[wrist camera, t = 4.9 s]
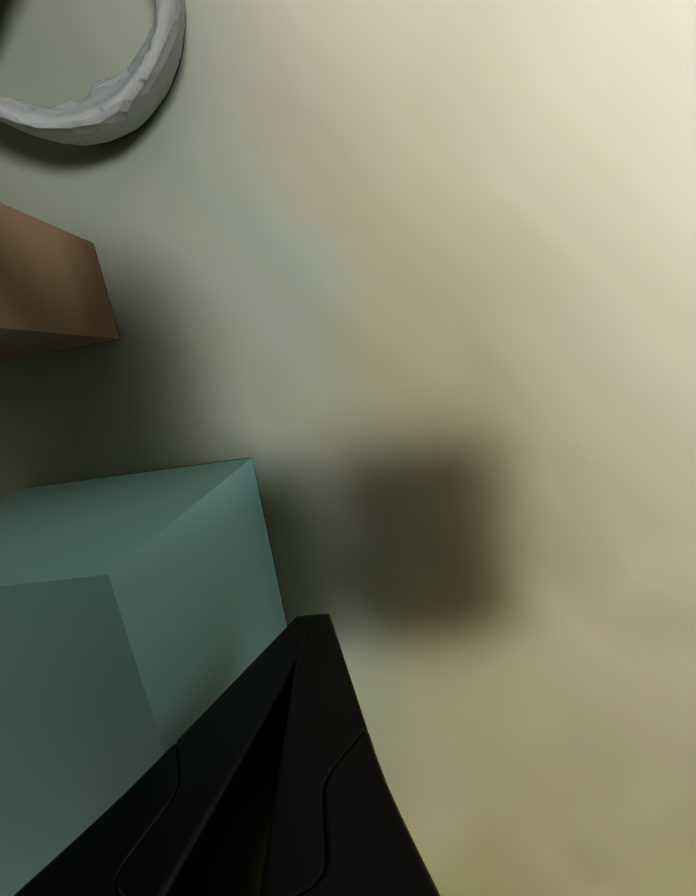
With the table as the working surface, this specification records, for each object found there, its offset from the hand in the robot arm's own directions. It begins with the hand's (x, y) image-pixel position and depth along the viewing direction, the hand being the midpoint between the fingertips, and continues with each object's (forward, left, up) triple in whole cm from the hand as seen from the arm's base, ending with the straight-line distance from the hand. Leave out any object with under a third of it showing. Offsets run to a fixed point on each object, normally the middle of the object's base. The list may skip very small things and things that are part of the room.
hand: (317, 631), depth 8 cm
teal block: (0, +5, -3) cm, 6 cm away
